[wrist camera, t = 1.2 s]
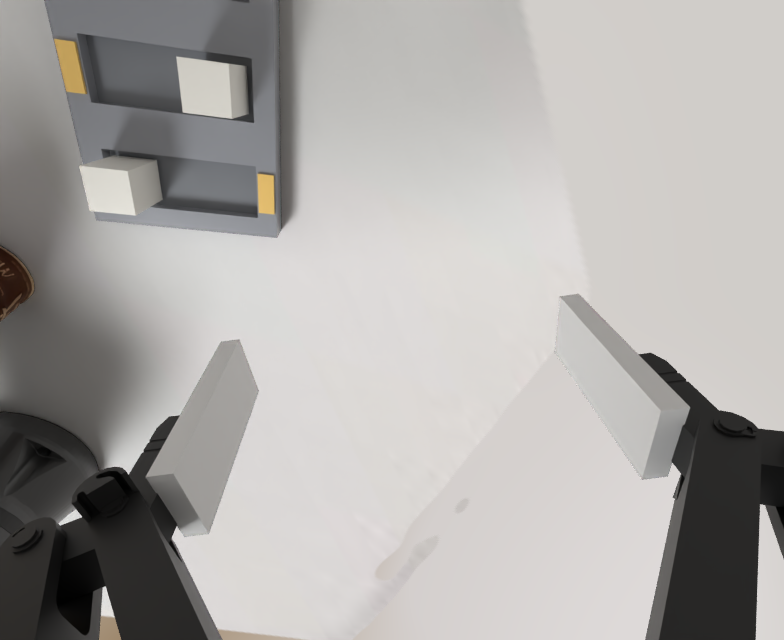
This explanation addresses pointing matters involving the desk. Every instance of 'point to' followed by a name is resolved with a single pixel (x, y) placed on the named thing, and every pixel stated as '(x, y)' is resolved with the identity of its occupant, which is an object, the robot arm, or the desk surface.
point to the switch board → (177, 104)
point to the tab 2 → (213, 88)
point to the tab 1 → (121, 184)
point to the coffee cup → (13, 283)
